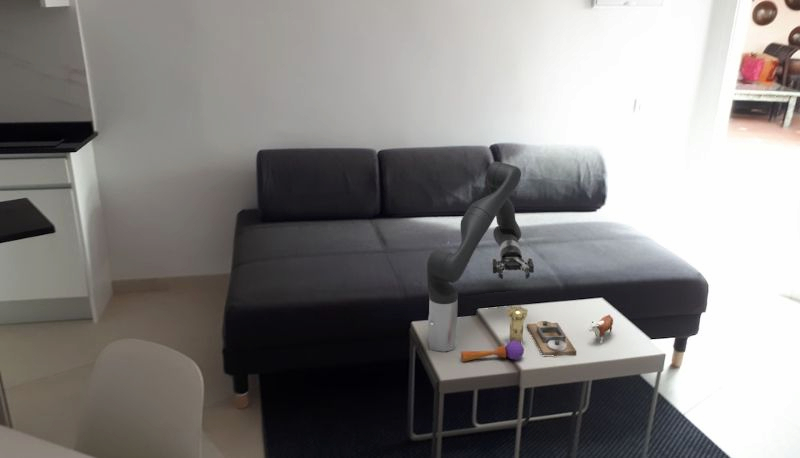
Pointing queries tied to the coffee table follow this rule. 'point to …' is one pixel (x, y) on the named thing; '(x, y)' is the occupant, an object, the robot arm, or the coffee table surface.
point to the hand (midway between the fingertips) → (514, 276)
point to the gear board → (551, 339)
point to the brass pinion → (516, 323)
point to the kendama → (497, 352)
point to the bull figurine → (602, 327)
